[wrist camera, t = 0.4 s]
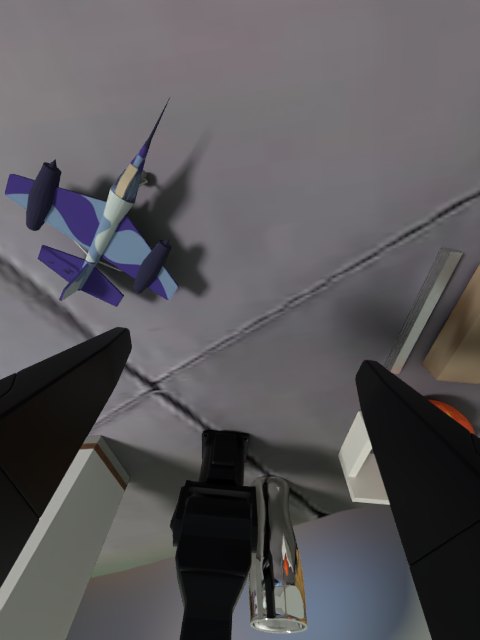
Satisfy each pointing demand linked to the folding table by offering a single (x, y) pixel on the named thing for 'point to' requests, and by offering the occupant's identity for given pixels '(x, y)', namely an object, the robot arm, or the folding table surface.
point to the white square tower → (63, 548)
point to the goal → (361, 466)
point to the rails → (423, 307)
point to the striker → (459, 340)
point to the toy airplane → (95, 231)
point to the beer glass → (276, 564)
